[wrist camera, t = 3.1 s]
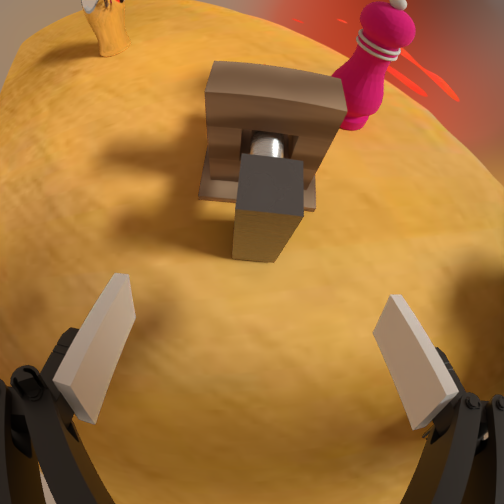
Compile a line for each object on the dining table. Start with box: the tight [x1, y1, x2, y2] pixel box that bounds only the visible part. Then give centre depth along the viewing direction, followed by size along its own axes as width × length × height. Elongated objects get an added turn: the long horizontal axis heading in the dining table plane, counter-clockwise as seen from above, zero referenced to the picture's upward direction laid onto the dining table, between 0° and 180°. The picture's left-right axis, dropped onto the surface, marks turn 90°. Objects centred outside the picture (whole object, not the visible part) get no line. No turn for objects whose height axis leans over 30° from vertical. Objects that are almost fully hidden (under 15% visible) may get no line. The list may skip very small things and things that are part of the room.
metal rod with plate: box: [232, 130, 304, 263], centre depth 24 cm, size 18×4×11 cm, turn 176°
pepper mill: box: [331, 0, 415, 130], centre depth 25 cm, size 7×7×20 cm
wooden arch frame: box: [198, 61, 348, 212], centre depth 24 cm, size 8×12×13 cm, turn 86°
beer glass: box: [81, 0, 131, 57], centre depth 29 cm, size 7×7×15 cm
